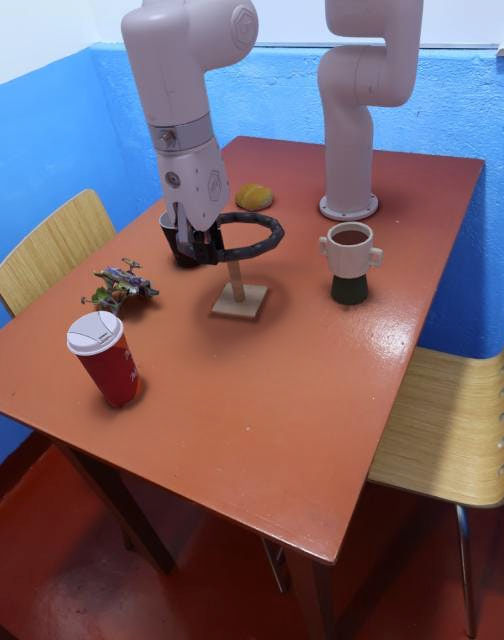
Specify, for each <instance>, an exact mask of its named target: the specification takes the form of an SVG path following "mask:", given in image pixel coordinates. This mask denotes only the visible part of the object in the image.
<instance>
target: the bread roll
mask: <svg viewBox="0 0 504 640" xmlns="http://www.w3.org/2000/svg"><path fill="white" fill-rule="evenodd" d="M273 200H274V194H273V191H272V190H271V189H270V188H269V187H266V186H262V185H260V184H258V183H256V182H251V183H250V182H249V183H246V184H244V185H242V186H241V187H239V189H238V190H237V191H236V193H235V195H234V201H235V203H236V204H237V205H238V206H239V207H241V208H242V209H245V210H247V211H249V212H250V211H251V212H256V211H260V210H263V209H266V208H268V207H270V205H271V204H272V203H273Z"/></svg>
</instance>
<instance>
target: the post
mask: <svg viewBox="0 0 504 640" xmlns="http://www.w3.org/2000/svg"><path fill="white" fill-rule="evenodd" d="M226 265H227V270H228V275H229V280H230V282H229V281H228V282H226V284H225V285H224V287H223V289H222V291H221V293H220V294H219V297H218V298H217V300H216V301H215V303H214V304H213V306H212V309H211V313H215V314H222V315H229V316H231V315H232V316H238V317H247V318H255V317H256V316H257V313H258V311H259V309H260V306H261V305H262V303H263V300H264V298H265V296H266V294H267V291H268V290H269V286H268V285H267V286H264V285H256V284H246V283H244V282H243V275H242V270H241V265H240V260H239V261H232V262H226Z"/></svg>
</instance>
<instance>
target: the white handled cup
mask: <svg viewBox="0 0 504 640" xmlns="http://www.w3.org/2000/svg"><path fill="white" fill-rule="evenodd" d="M325 244H326V248H325ZM318 252H319V254H320V255H323V256H326V257H327V265H328V269H329V271H330V272H331V273H332V274H333V276H332V282H331V289H330V290H331V291H330V295H331V298H332V300H333V301H334V302H336V303H337V304H340V305H343V306H356V305H359V304H362V303H363V302H365V300H367V299H368V296H369V284H368V279H367V278H368V277H367V272H368V271H369V270H370V269H371V267H375V268H382V266H383V263H384V261H383V260H384V250H383V249H381V248H377V247H374V232H373V230H372V228H371V227H370V226H368V225H367V224H365V223H362V222H360V221H359V222H358V221H345V222H340V223H339V224H335V225H334V226H332V227H330V229H329V230H328V231H327V234H326V236H320V237H318ZM373 255H375V256H376V259H373Z"/></svg>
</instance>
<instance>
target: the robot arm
mask: <svg viewBox="0 0 504 640" xmlns="http://www.w3.org/2000/svg"><path fill="white" fill-rule="evenodd" d="M424 2H425V0H324V15H325V16H324V17H325V23H326V27H327V29H328V31H329V32H330V33H331V34H332V35H334V36H336V37H342V38H356V39H357V38H359V39H361V38H362V39H363V38H365V39H383V40H384V44H385V45H372V44H342V45H337V46H334V47H332V48H330V49H328V50H326V52H324V53H323V55H322V56H321V58H320V60H319V62H318V65H317V70H316V80H317V81H316V82H317V88H318V92H319V98H320V101H321V107H322V116H323V130H324V162H325V163H324V165H325V195H324V196H323V197H322V198H321V199H320V201H319V211H320V212H321V214H322V215H324V216H325V217H326V218H328V219H330V220H334V221H339V222H355V221H360V220H363V219H366V218H368V217H370V216H372V215H373V214H374V213H375V212H376V211H377V209H378V208H379V199H378V197H377V196H376V195H375V193H373V192H372V180H373V179H372V178H373V155H374V135H375V133H374V132H375V128H374V127H375V126H374V120H373V117H372V114H371V112H370V110H369V107H378V108H399V107H402V106H404V105H405V104H406V103H408V101H410V99H411V97H412V95H413V92H414V89H415V85H416V80H417V75H418V74H417V73H418V67H419V66H418V65H419V54H420V47H421V45H420V44H421V34H422V25H423V24H422V23H423V16H424ZM259 27H260V23H259V15H258V12H257V9H256V7H255V4H254V3H253V1H252V0H142V3H141V6H140V7H138V8H135V9H132V10H129V12H127V13H126V14H124V16H123V17H122V19H121V21H120V33H121V37H122V40H123V45H124V48H125V52H126V55H127V60H128V62H129V66H130V70H131V74H132V76H133V80H134V84H135V88H136V91H137V95H138V98H139V102H140V105H141V109H142V113H143V117H144V119H145V123H146V126H147V130H148V134H149V138H150V140H151V144H152V148H153V151H154V152H155V153H156V161H157V162H156V164H157V170H158V176H159V182H160V187H161V192H162V196H163V201H164V204H165V208H166V211H167V212H168V215H169V218H170V221H171V224H172V226H173V227H174V228H175V229H178V230H179V242H180V243H183V244H191V243H192V245H193V248H194V252H195V256H196V260H197V263H199V264H202V265H206V266H218V264H219V263H220V262H219V260H218V255H217V251H216V249H219V250H226V248H225V244H224V239H223V234H222V229H221V227H222V225H221V220H220V215H219V214H221V213H222V212H223V210H224V208H225V207H226V206H227V205H228V202H229V200H230V199H231V189H230V182H229V178H228V174H227V169H226V166H225V161H224V158H223V152H222V151H221V147H220V143H219V141H218V138H217V136H216V133H215V127H214V122H213V116H212V110H211V107H210V100H209V96H208V90H207V85H206V84H207V83H206V80H205V74H206V73H207V72H210V71H214V70H217V69H222V68H226V67H227V68H228V67H230V66H233V65H236V64H238V63H240V62H242V61H243V60H244V59H246V57H248V56H249V54H250V53H251V52H252V51H253V49H254V47H255V45H256V42H257V39H258V36H259V30H260V29H259ZM194 228H195V229H196V230H199V231H195V230H194Z"/></svg>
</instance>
